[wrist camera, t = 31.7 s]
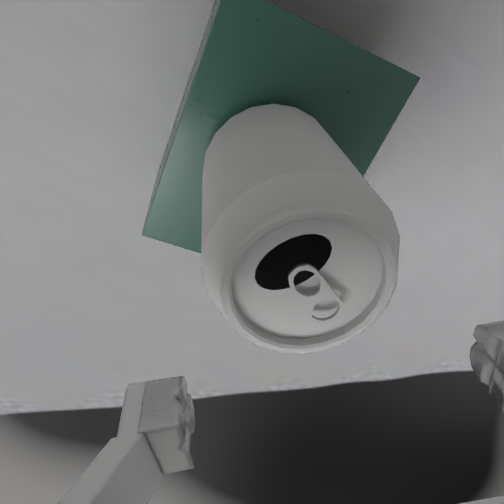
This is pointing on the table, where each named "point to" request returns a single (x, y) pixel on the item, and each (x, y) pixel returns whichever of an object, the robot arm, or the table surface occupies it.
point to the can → (293, 233)
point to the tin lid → (272, 100)
